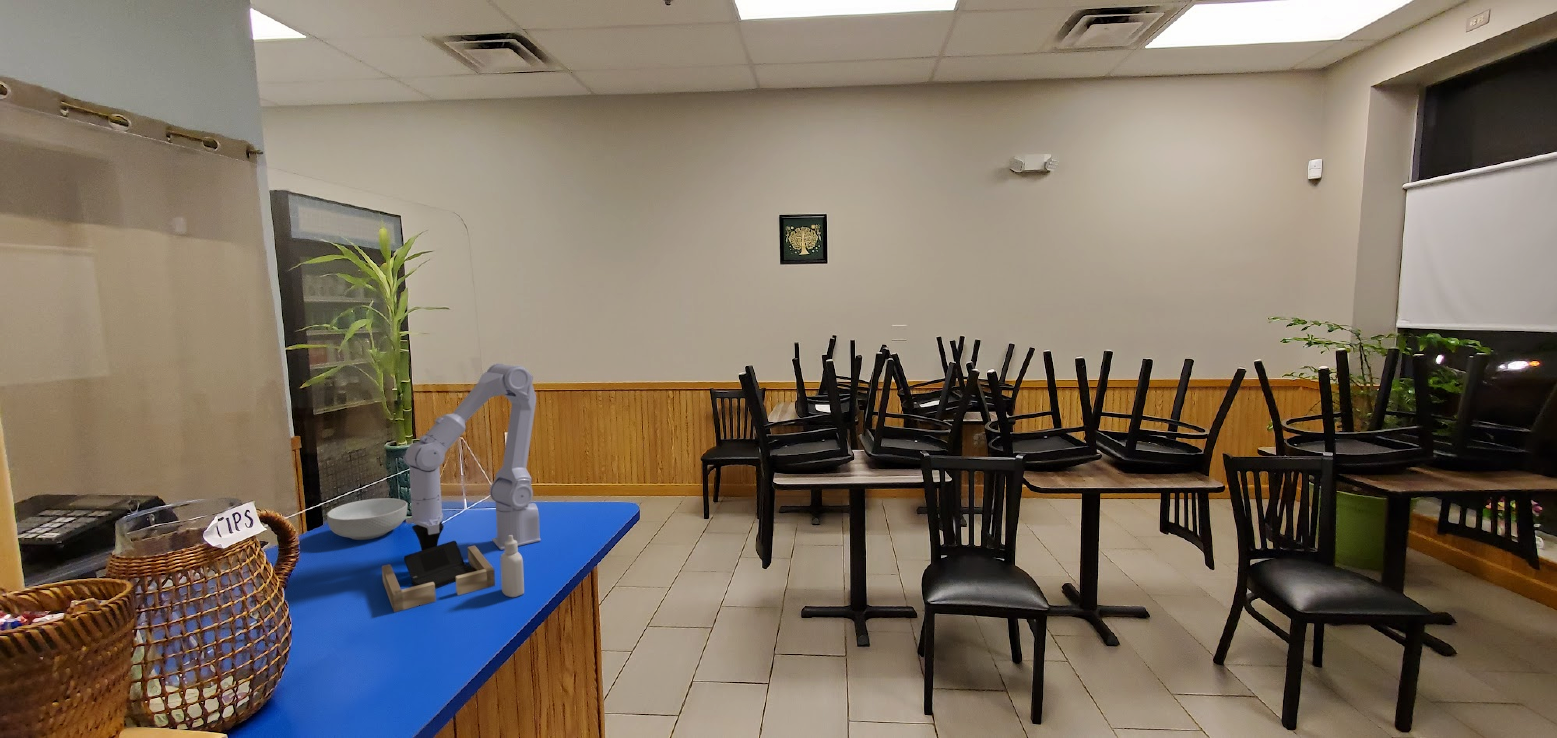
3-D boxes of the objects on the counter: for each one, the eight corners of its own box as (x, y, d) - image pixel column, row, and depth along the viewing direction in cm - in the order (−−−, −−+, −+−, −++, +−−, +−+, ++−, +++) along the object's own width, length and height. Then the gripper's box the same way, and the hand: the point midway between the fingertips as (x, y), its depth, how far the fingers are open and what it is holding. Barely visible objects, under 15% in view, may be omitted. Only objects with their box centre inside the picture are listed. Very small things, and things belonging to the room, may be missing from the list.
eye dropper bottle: (525, 584, 127) (522, 529, 126) (523, 596, 122) (521, 539, 121) (502, 588, 126) (499, 532, 125) (500, 600, 121) (497, 542, 120)
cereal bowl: (350, 552, 144) (348, 523, 143) (315, 539, 152) (313, 511, 151) (422, 529, 159) (420, 503, 158) (386, 518, 167) (385, 493, 166)
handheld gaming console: (432, 586, 123) (416, 541, 126) (413, 601, 125) (398, 557, 128) (482, 572, 133) (466, 531, 136) (463, 587, 136) (448, 546, 139)
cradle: (475, 560, 140) (474, 545, 139) (495, 585, 127) (494, 569, 127) (382, 581, 128) (381, 566, 128) (394, 612, 116) (393, 594, 115)
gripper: (399, 492, 136) (403, 550, 138) (410, 508, 125) (414, 572, 127) (435, 486, 141) (438, 542, 142) (448, 502, 130) (451, 563, 131)
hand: (429, 556), depth 135 cm, fingers closed
